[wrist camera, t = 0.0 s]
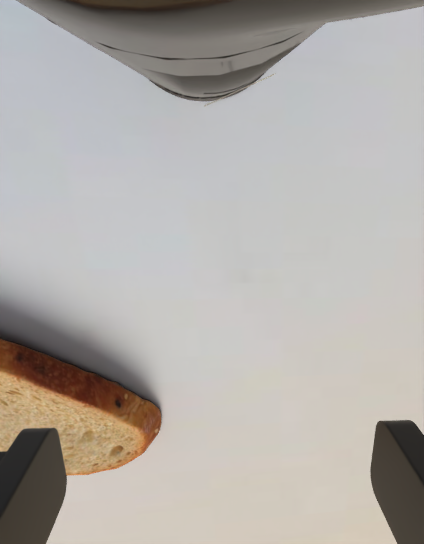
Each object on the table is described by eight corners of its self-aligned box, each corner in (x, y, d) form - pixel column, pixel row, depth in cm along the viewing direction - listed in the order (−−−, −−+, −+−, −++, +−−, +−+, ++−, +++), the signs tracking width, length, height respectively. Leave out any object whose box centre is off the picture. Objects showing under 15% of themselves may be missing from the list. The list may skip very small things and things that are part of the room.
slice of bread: (176, 435, 32) (172, 474, 28) (-5, 496, 35) (-29, 539, 31) (61, 246, 26) (37, 267, 22) (-150, 339, 28) (-200, 370, 25)
